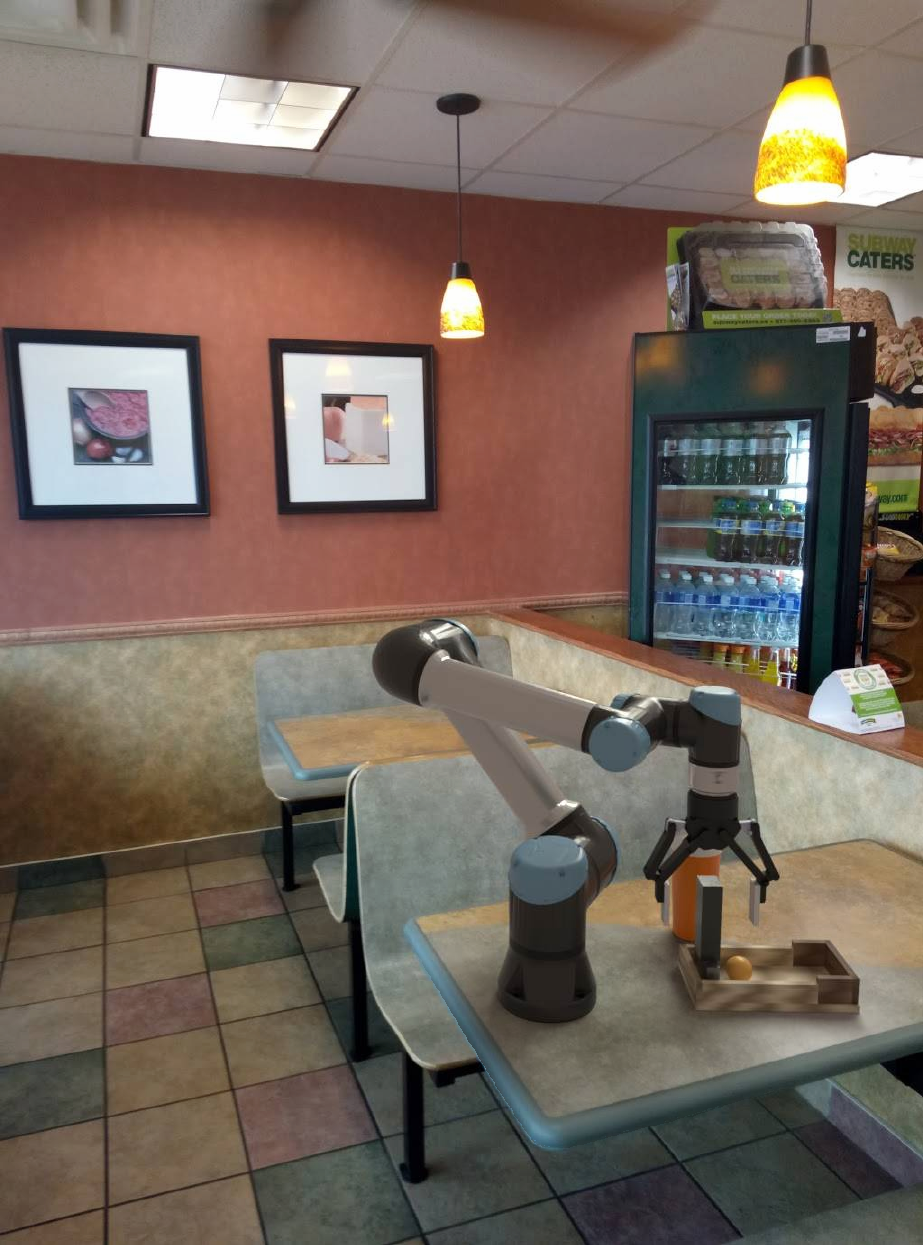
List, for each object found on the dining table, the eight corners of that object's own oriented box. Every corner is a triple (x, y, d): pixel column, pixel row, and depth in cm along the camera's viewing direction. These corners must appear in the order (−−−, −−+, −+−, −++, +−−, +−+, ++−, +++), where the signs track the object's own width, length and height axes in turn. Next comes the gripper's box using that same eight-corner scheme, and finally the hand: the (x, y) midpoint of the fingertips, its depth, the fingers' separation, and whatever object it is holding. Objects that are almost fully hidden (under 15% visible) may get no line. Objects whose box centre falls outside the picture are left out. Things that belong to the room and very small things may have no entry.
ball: (729, 988, 138) (730, 963, 137) (722, 974, 142) (723, 950, 141) (755, 988, 138) (756, 964, 137) (747, 975, 142) (748, 951, 141)
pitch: (696, 1010, 134) (697, 978, 133) (678, 965, 147) (679, 936, 146) (859, 1012, 133) (861, 981, 132) (826, 967, 146) (828, 938, 145)
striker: (702, 992, 136) (706, 892, 134) (691, 965, 144) (694, 870, 142) (722, 992, 136) (726, 892, 134) (709, 965, 144) (713, 870, 142)
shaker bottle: (721, 947, 153) (725, 834, 150) (667, 942, 154) (671, 830, 152) (717, 923, 161) (721, 816, 159) (666, 919, 163) (669, 813, 160)
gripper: (634, 796, 133) (631, 932, 135) (805, 797, 132) (799, 934, 134) (626, 781, 140) (624, 910, 143) (788, 781, 139) (783, 911, 142)
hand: (709, 922), depth 139 cm, fingers open, 13 cm apart
